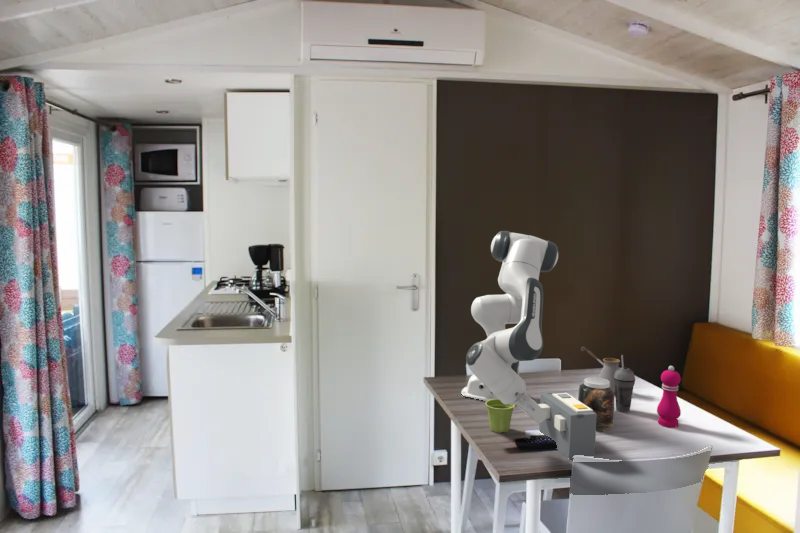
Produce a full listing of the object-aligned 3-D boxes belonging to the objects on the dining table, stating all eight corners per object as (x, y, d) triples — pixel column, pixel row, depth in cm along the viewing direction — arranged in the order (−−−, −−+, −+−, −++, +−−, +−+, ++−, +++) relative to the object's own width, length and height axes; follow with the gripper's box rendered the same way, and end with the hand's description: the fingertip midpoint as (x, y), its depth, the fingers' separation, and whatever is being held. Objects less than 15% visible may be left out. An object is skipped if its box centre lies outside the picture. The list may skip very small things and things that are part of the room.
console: (569, 459, 172) (570, 413, 171) (539, 433, 191) (540, 391, 190) (594, 457, 174) (596, 411, 172) (562, 431, 193) (564, 390, 192)
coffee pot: (632, 394, 232) (634, 356, 230) (610, 398, 227) (612, 359, 225) (590, 379, 251) (592, 344, 249) (570, 383, 245) (571, 347, 244)
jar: (569, 420, 203) (571, 377, 201) (596, 416, 207) (598, 374, 206) (593, 433, 192) (595, 387, 190) (621, 428, 197) (623, 383, 195)
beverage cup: (635, 414, 209) (638, 358, 207) (613, 413, 211) (616, 357, 209) (631, 407, 216) (634, 353, 214) (610, 406, 218) (613, 352, 216)
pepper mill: (669, 429, 196) (673, 369, 194) (651, 422, 202) (654, 364, 200) (684, 426, 199) (688, 367, 197) (666, 419, 205) (669, 362, 203)
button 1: (538, 419, 183) (539, 408, 183) (533, 415, 187) (534, 404, 186) (554, 418, 184) (554, 407, 184) (548, 414, 188) (549, 403, 187)
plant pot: (507, 437, 188) (508, 410, 187) (480, 431, 193) (480, 405, 192) (518, 428, 196) (519, 402, 195) (491, 422, 201) (492, 397, 200)
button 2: (559, 431, 174) (560, 419, 174) (554, 426, 178) (554, 415, 177) (575, 430, 175) (576, 418, 175) (569, 425, 179) (570, 414, 178)
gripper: (532, 391, 161) (565, 424, 164) (504, 371, 181) (533, 400, 184) (516, 408, 161) (549, 441, 164) (489, 386, 181) (519, 415, 184)
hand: (540, 419), depth 174 cm, fingers closed
